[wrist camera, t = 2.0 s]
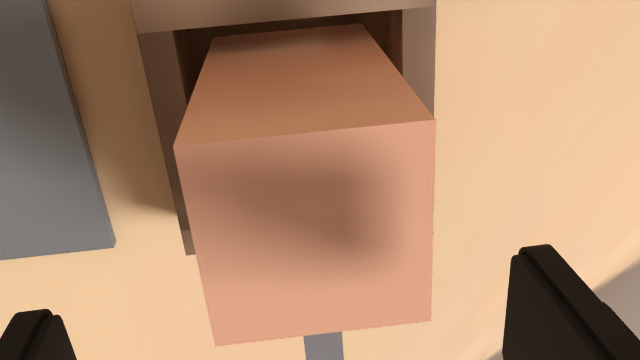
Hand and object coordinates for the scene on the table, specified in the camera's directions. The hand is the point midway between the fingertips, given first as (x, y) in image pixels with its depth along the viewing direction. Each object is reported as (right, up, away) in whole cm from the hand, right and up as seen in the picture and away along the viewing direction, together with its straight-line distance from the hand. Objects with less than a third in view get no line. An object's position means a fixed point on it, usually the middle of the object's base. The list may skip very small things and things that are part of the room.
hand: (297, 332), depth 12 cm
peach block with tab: (0, +5, +13) cm, 14 cm away
